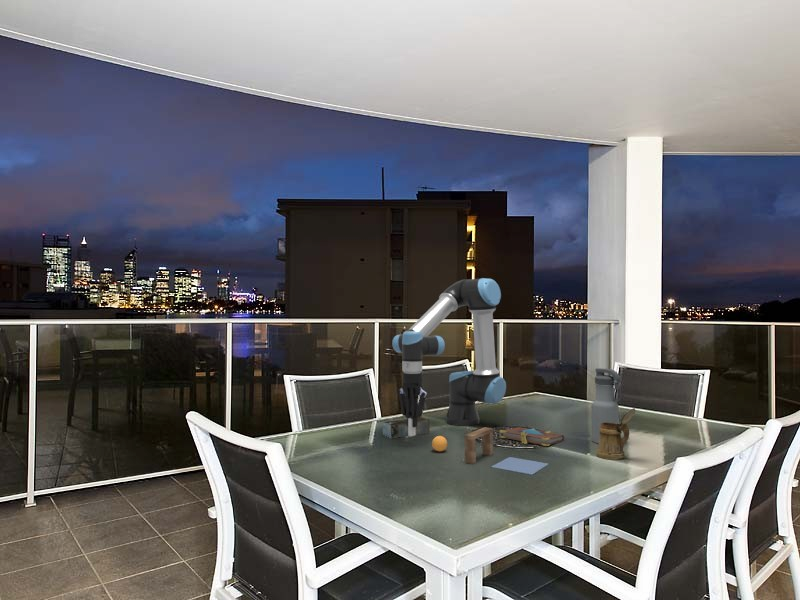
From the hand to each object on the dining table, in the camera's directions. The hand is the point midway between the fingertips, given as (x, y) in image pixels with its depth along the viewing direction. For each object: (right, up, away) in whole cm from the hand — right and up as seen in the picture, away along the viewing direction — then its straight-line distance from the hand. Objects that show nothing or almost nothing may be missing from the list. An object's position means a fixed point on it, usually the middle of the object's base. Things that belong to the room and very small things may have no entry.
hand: (411, 435), depth 200 cm
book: (+46, -5, +11) cm, 47 cm away
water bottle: (+75, -4, +5) cm, 75 cm away
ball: (+10, -1, -7) cm, 12 cm away
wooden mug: (+70, -4, -16) cm, 72 cm away
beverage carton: (-2, -5, +20) cm, 21 cm away
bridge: (+23, -4, -16) cm, 28 cm away
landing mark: (+35, -4, -25) cm, 43 cm away
